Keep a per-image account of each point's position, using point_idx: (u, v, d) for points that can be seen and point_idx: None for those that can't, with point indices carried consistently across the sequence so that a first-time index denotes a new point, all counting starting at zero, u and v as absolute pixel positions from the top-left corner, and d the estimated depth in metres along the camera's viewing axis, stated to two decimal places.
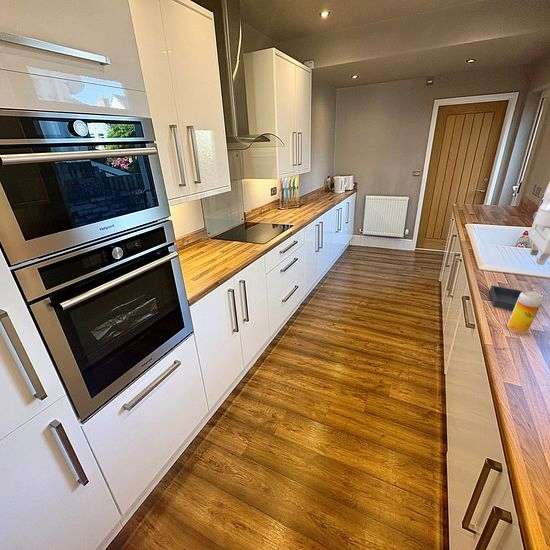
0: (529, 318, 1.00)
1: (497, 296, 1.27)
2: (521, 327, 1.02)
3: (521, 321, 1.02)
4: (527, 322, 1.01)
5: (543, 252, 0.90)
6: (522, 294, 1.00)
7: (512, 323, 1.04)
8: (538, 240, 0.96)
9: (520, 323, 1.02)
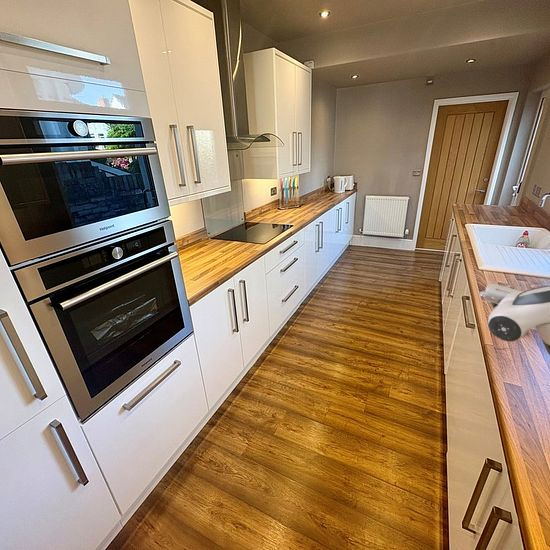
0: None
1: None
2: None
3: None
4: None
5: (490, 283, 0.93)
6: None
7: None
8: None
9: None
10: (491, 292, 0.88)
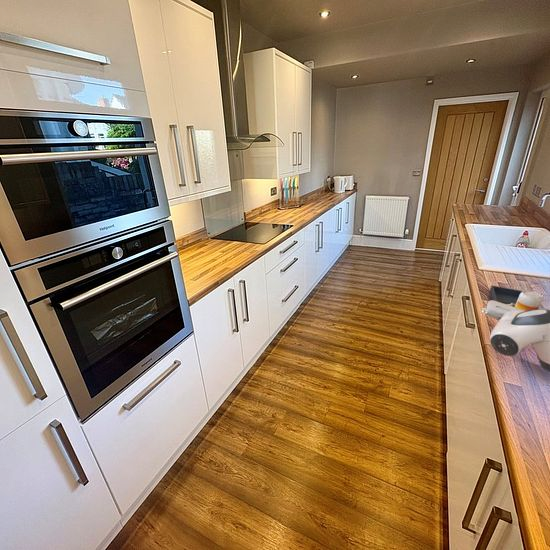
0: None
1: (497, 296, 1.27)
2: None
3: None
4: None
5: (491, 300, 1.05)
6: (522, 294, 1.00)
7: None
8: (517, 310, 0.99)
9: None
10: (492, 309, 1.00)
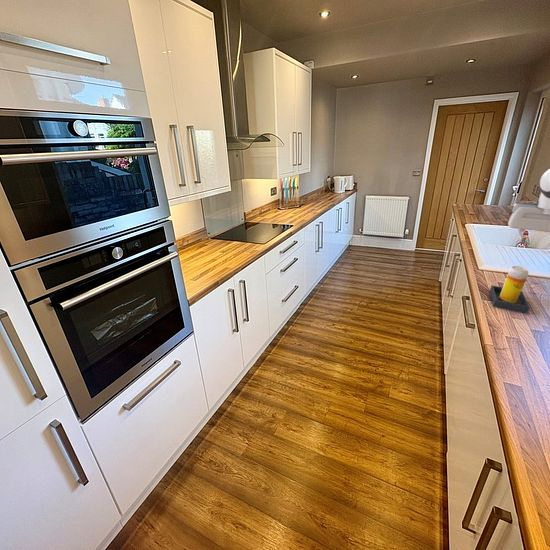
0: (518, 289, 1.18)
1: (497, 296, 1.27)
2: (511, 297, 1.20)
3: (511, 292, 1.19)
4: (515, 293, 1.19)
5: None
6: (511, 269, 1.18)
7: (503, 295, 1.22)
8: None
9: (510, 293, 1.20)
10: None
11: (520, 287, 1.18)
